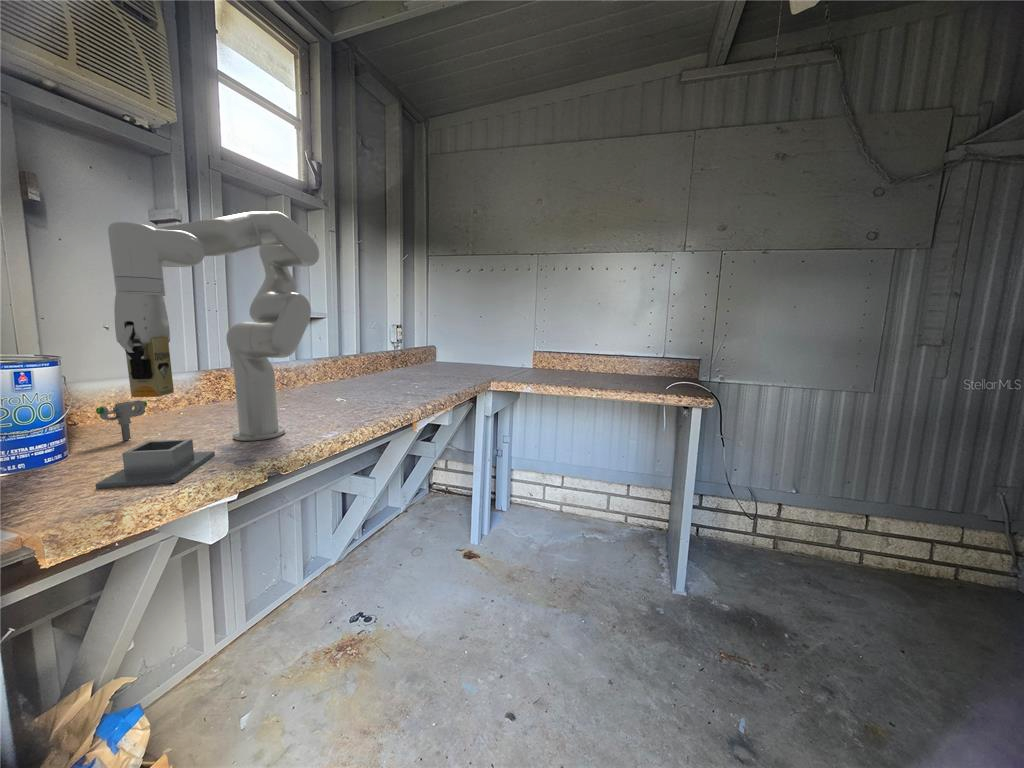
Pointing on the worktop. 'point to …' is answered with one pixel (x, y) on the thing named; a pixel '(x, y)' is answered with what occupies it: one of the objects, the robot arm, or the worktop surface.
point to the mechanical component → (123, 414)
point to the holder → (156, 464)
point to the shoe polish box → (154, 371)
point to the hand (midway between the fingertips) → (151, 376)
